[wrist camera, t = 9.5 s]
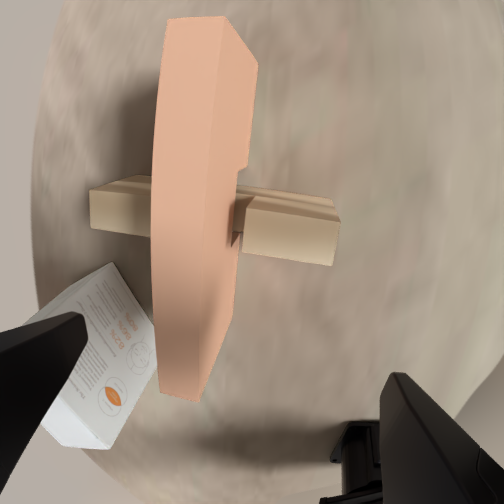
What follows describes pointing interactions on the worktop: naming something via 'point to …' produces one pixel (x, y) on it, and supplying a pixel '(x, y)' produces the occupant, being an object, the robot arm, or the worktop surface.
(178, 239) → the terracotta plate
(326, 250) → the birch notched block
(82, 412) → the small box
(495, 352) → the worktop surface
